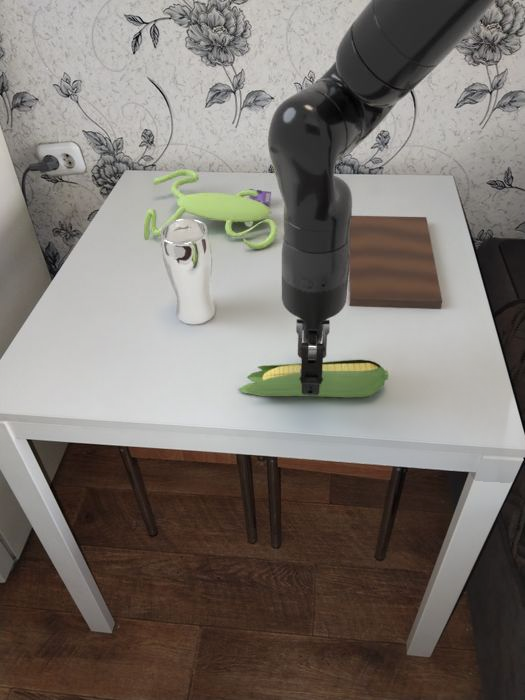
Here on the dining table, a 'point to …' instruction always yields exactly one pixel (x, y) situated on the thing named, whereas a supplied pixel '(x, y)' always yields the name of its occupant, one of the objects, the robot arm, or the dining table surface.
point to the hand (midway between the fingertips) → (310, 368)
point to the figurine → (217, 208)
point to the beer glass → (189, 268)
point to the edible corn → (337, 380)
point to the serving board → (392, 263)
